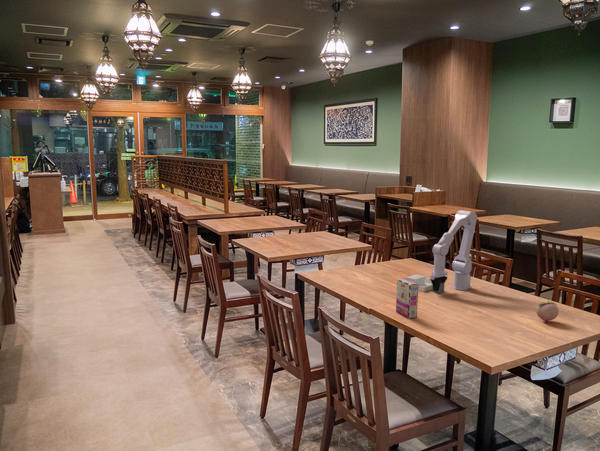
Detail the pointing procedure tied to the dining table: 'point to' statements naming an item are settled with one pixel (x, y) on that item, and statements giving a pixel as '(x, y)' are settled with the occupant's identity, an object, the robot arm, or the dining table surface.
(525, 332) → the dining table surface
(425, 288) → the tote
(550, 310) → the decorative fruit
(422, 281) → the plain white rectangular box
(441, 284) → the metal block
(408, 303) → the candy bar box
